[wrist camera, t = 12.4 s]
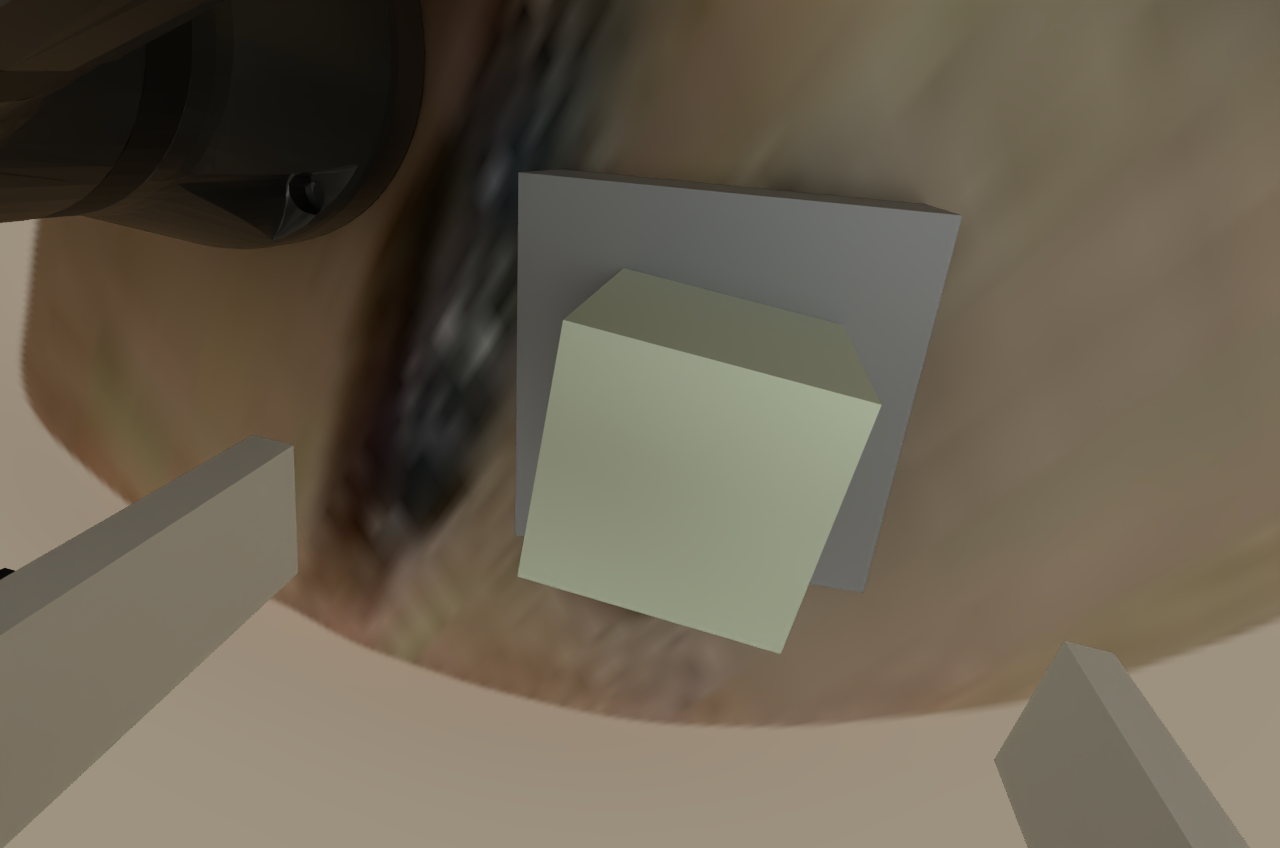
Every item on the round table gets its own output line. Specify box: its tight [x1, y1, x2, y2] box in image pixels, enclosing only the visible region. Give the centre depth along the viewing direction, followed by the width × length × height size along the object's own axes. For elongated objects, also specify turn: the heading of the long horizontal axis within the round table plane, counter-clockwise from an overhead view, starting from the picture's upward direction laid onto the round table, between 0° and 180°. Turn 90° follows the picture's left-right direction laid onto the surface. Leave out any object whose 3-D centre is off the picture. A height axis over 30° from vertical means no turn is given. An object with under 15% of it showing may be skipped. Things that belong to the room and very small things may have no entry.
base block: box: [515, 169, 962, 593], centre depth 24 cm, size 13×13×5 cm
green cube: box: [518, 268, 882, 654], centre depth 19 cm, size 7×7×7 cm
